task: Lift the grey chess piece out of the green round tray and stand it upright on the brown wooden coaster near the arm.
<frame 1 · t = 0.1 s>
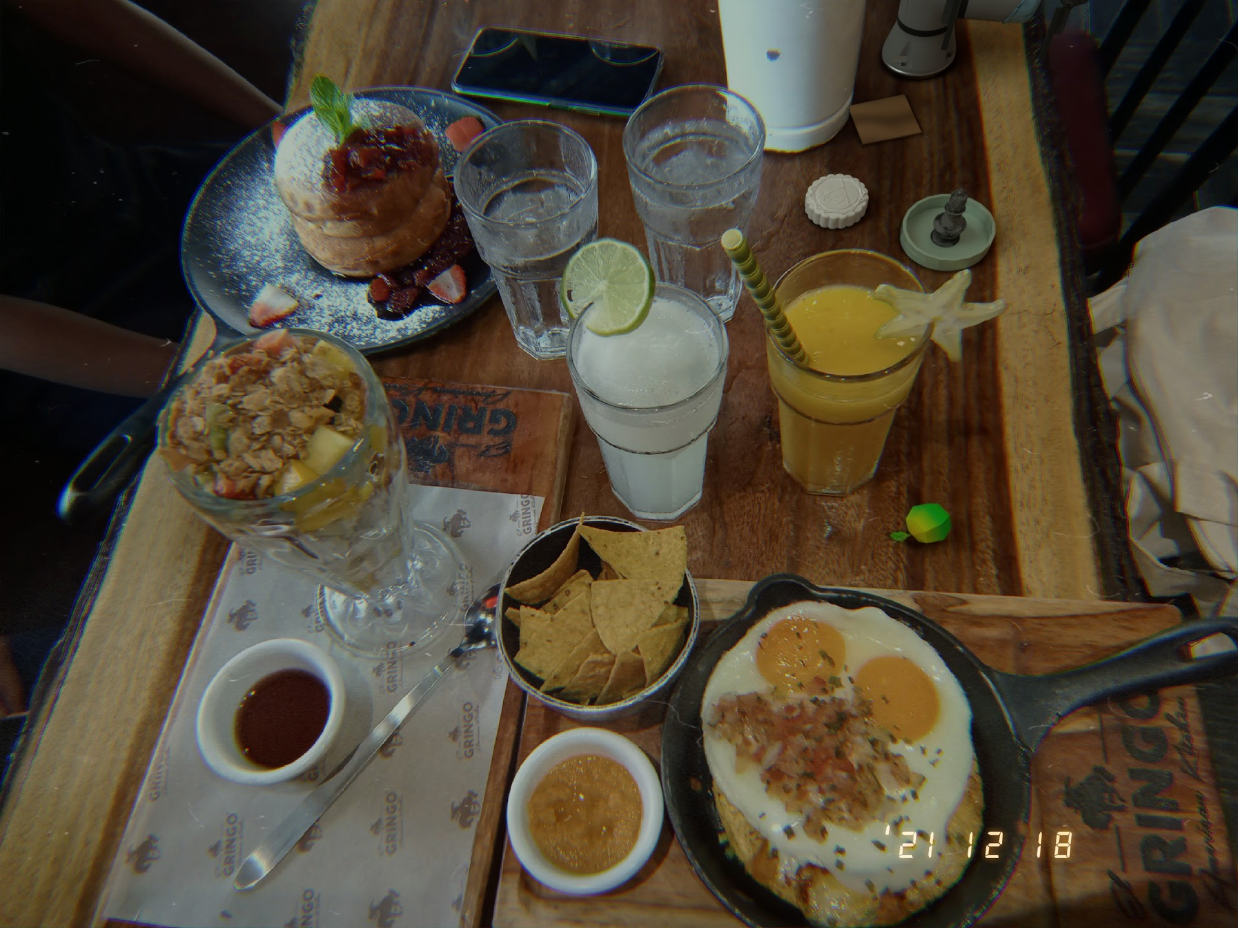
hand: (991, 55, 109), 36 cm above the table, tool tilted 35°, fingers open, 13 cm apart
green round tray: (944, 237, 139), on the table
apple: (918, 534, 115), on the table
mooncake: (835, 208, 146), on the table
coaster: (883, 120, 155), on the table
grey chess piece: (944, 237, 139), resting on green round tray
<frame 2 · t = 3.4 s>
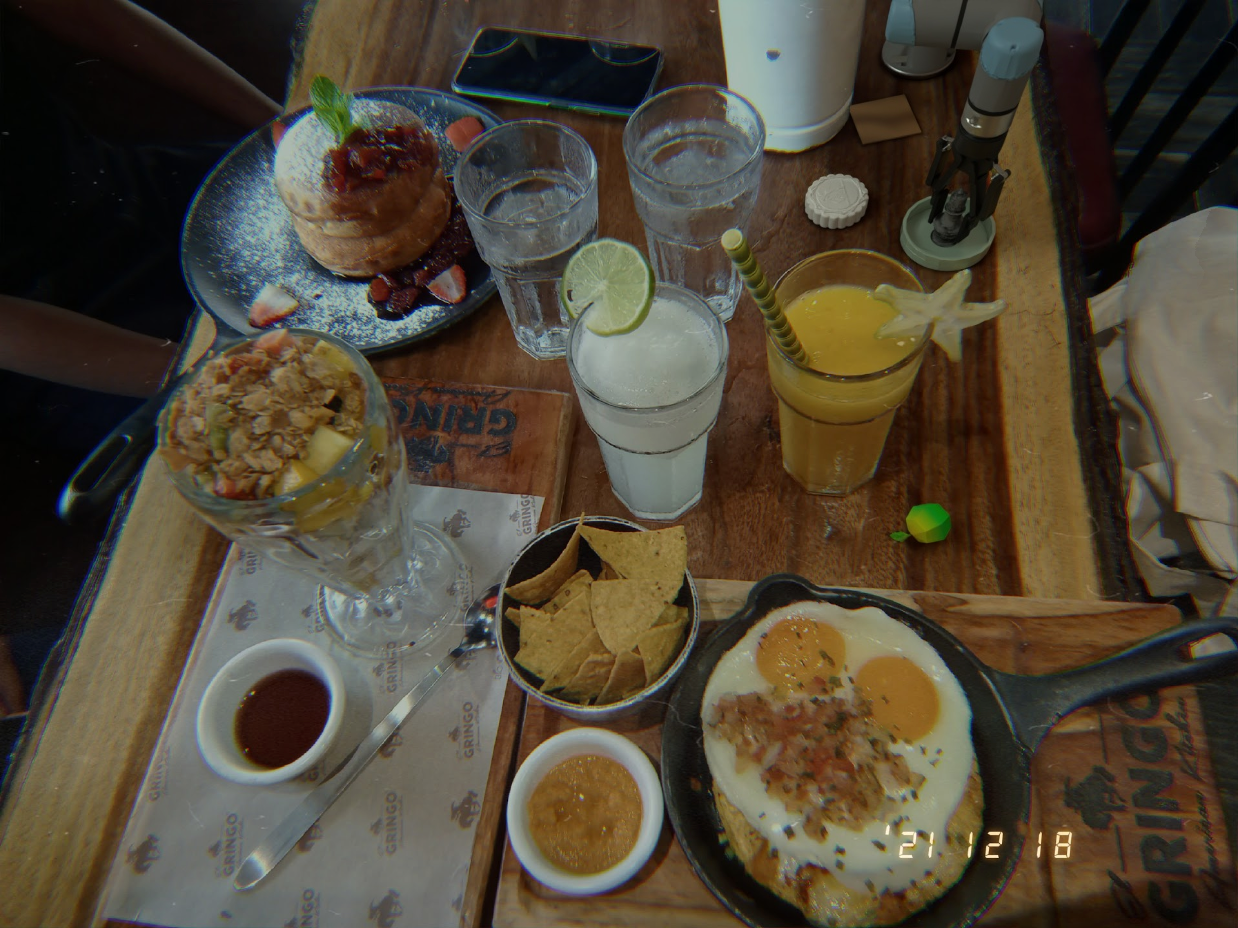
hand: (947, 228, 137), 2 cm above the table, tool pointing down, fingers closed on grey chess piece, 6 cm apart
grey chess piece: (944, 237, 139), resting on green round tray, touching gripper
everything else where it was.
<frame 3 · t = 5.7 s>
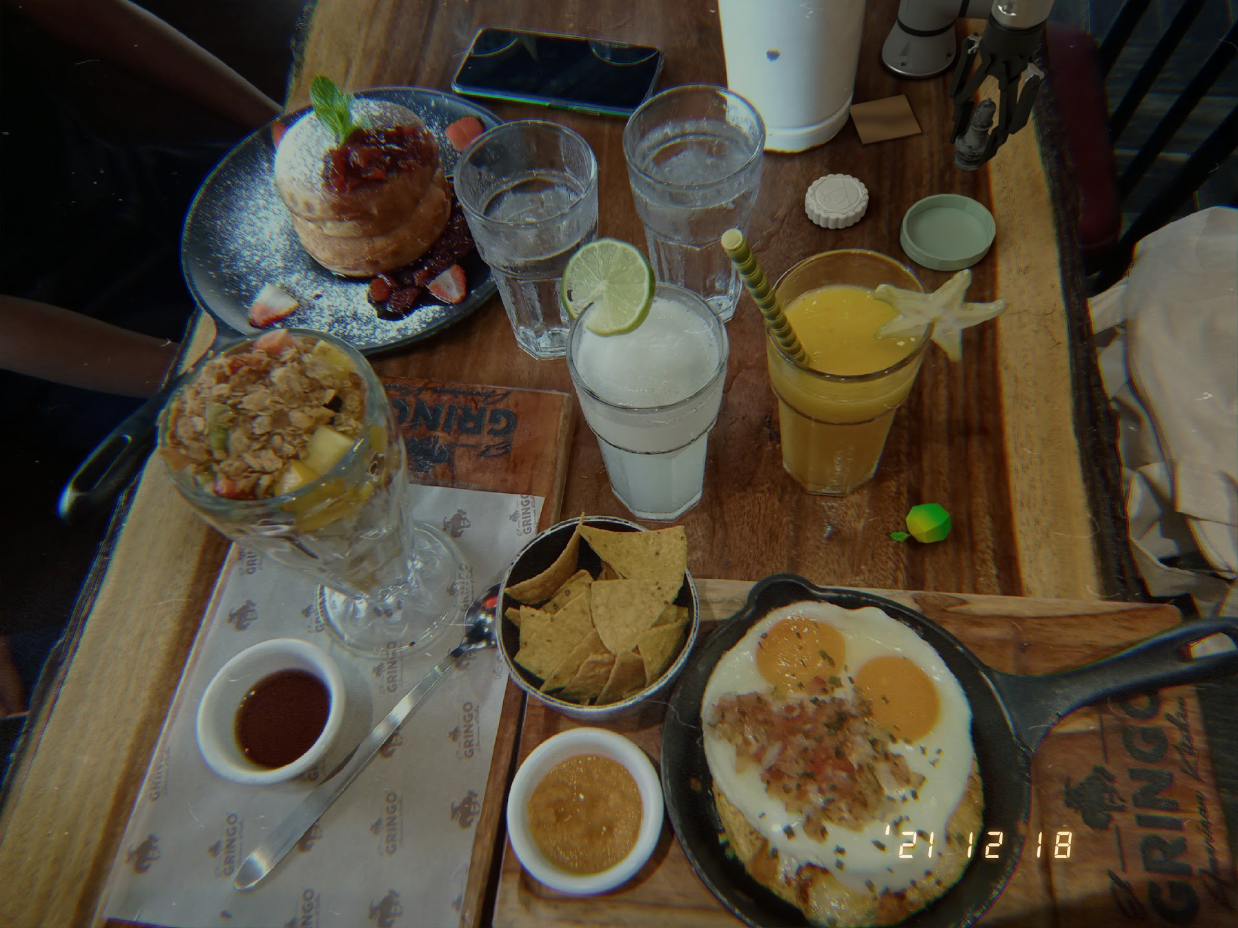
hand: (972, 148, 122), 20 cm above the table, tool pointing down, fingers closed on grey chess piece, 6 cm apart
grey chess piece: (968, 160, 124), point 17 cm above the table, touching gripper
everything else where it was.
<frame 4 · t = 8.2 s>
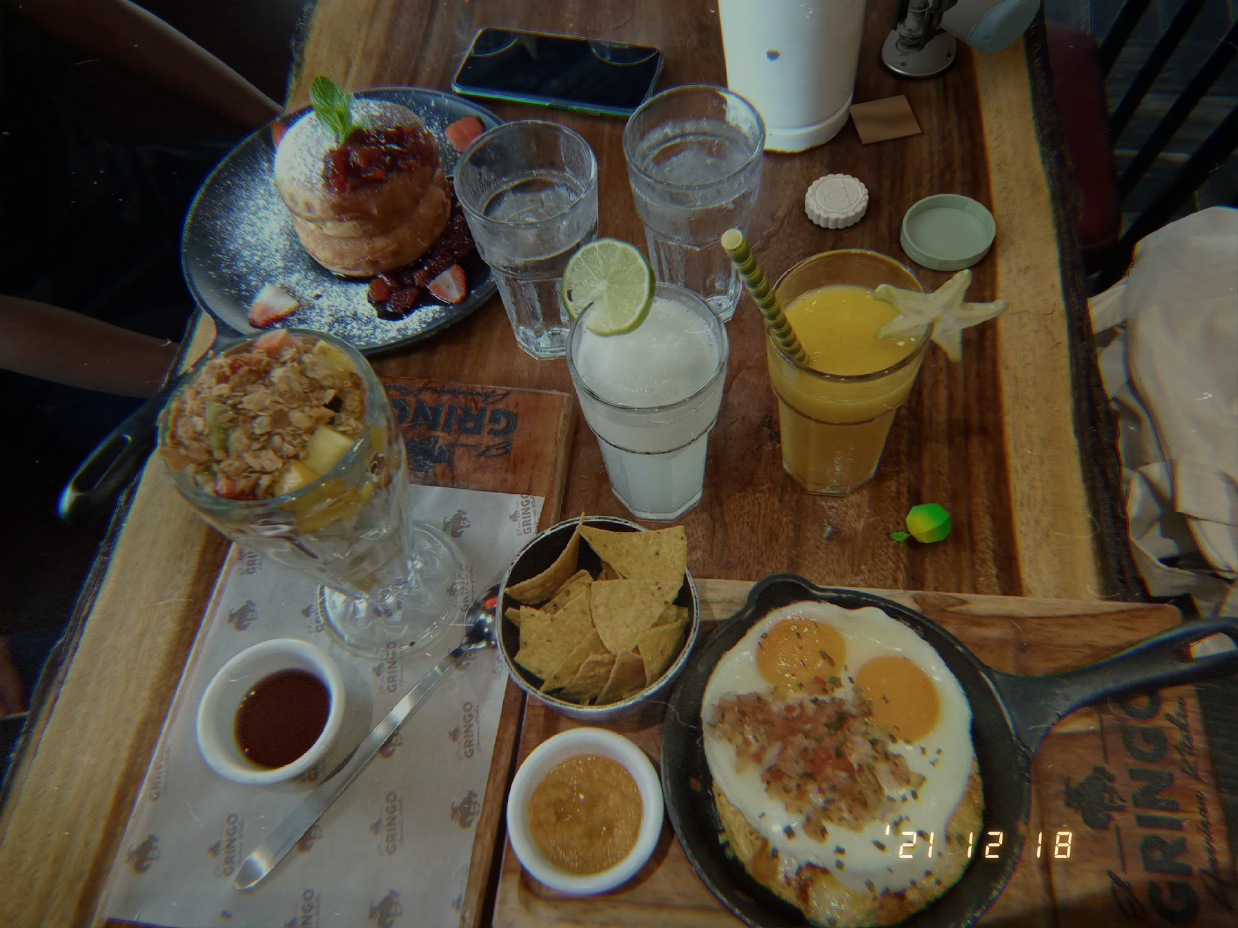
hand: (912, 33, 134), 21 cm above the table, tool pointing down, fingers closed on grey chess piece, 6 cm apart
grey chess piece: (910, 45, 136), point 19 cm above the table, touching gripper
everything else where it was.
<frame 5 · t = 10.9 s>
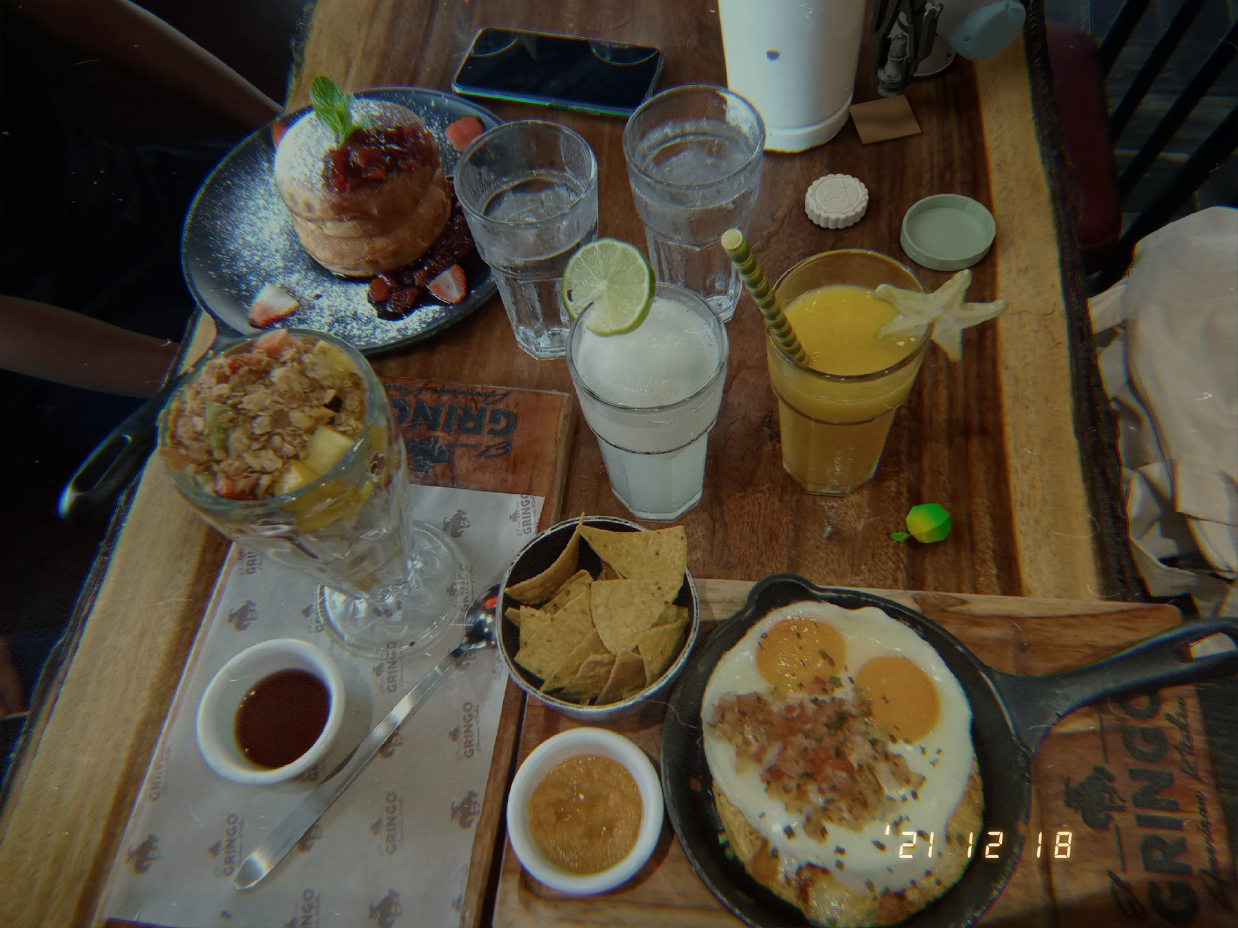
hand: (892, 79, 146), 10 cm above the table, tool pointing down, fingers closed on grey chess piece, 6 cm apart
grey chess piece: (889, 89, 148), point 7 cm above the table, touching gripper
everything else where it was.
when the fingers open (2 cm above the table, at t = 12.9 s): grey chess piece stays where it is, resting on coaster.
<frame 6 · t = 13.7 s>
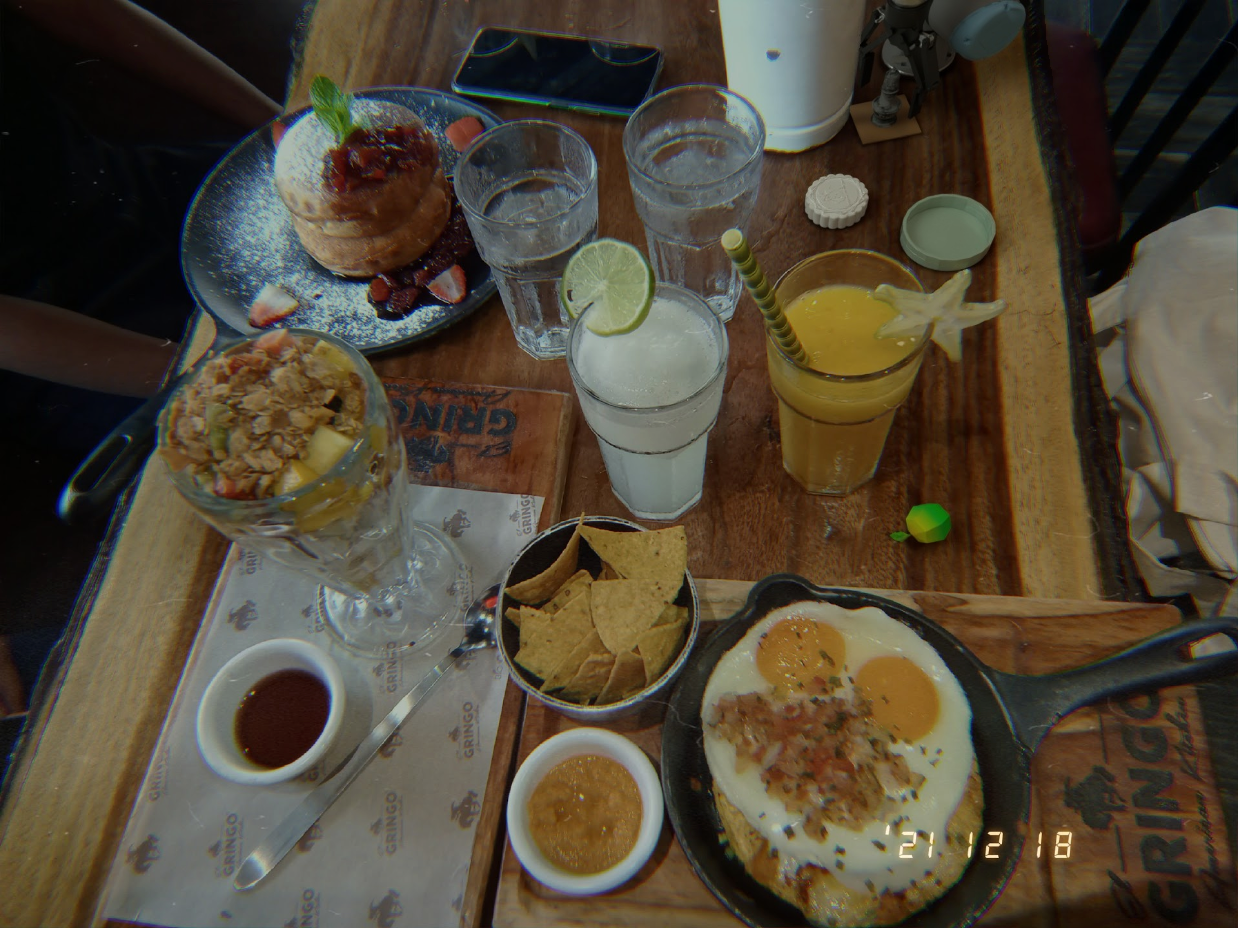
hand: (888, 99, 150), 5 cm above the table, tool pointing down, fingers open, 13 cm apart
grey chess piece: (883, 119, 154), resting on coaster
everything else where it was.
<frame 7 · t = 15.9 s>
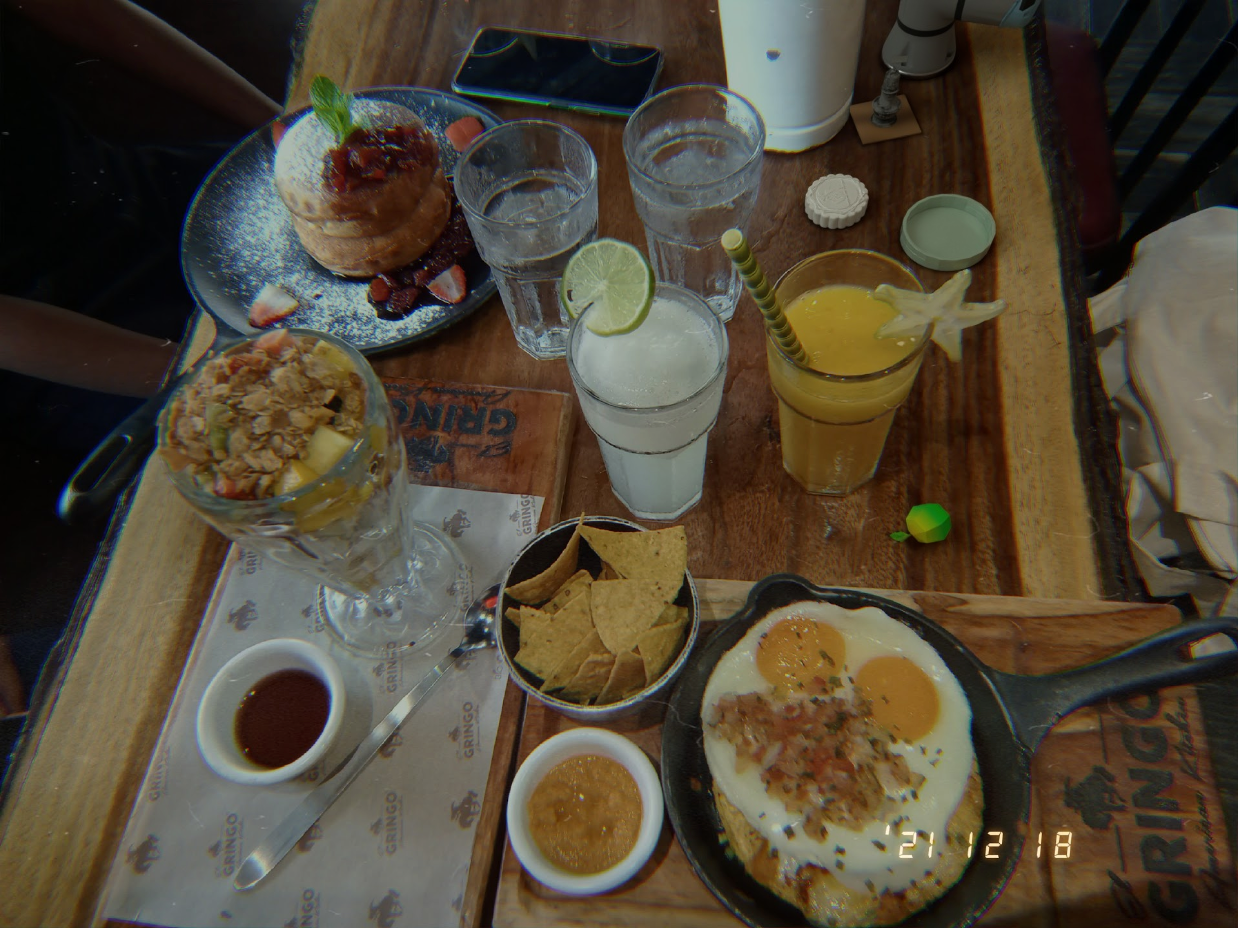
nothing on the table moved.
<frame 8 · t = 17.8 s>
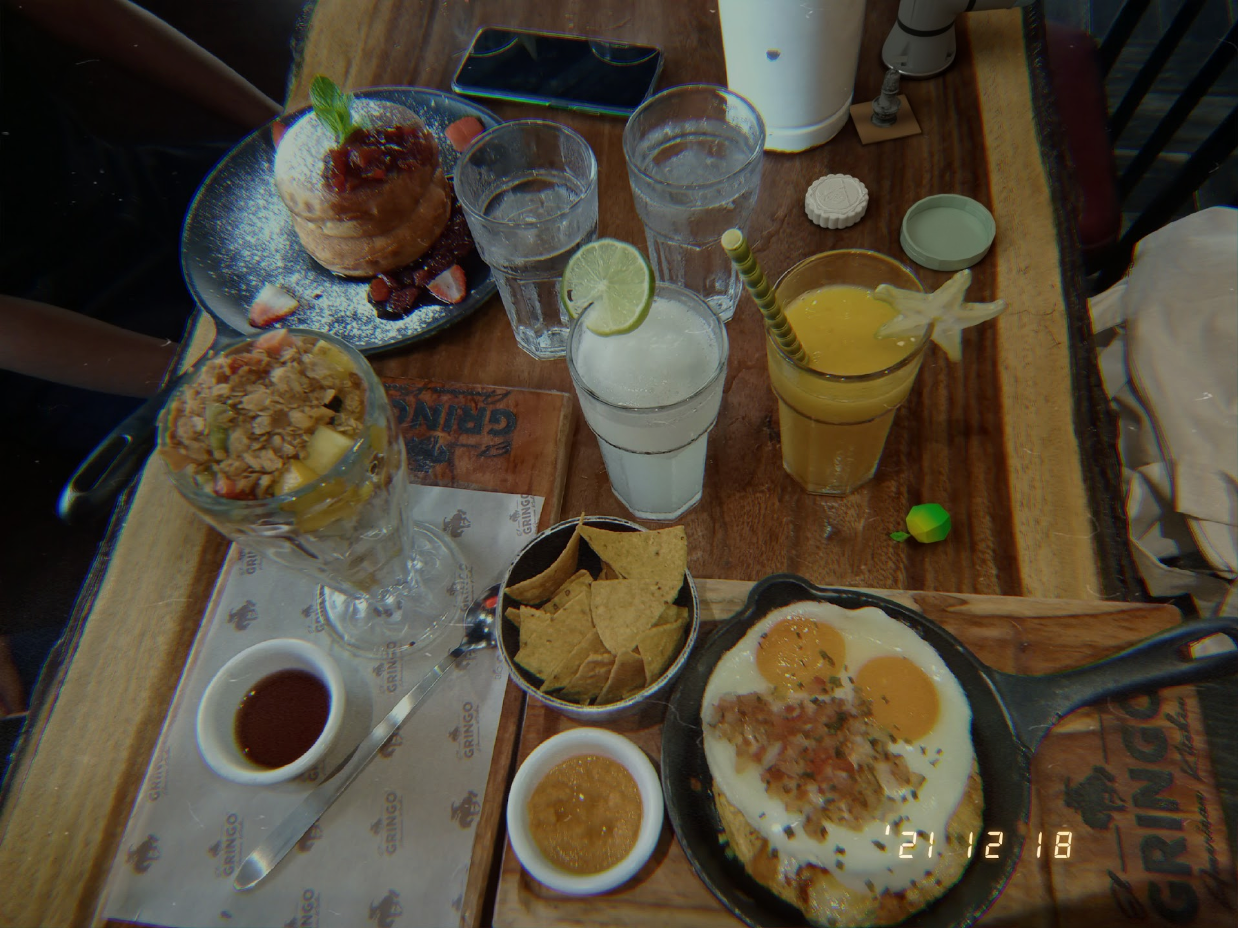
nothing on the table moved.
at the end: grey chess piece inside the target area on the coaster (0.1 cm from its centre), point 0.2 cm above the coaster's base; grey chess piece tilted 0°; the gripper is holding nothing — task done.
